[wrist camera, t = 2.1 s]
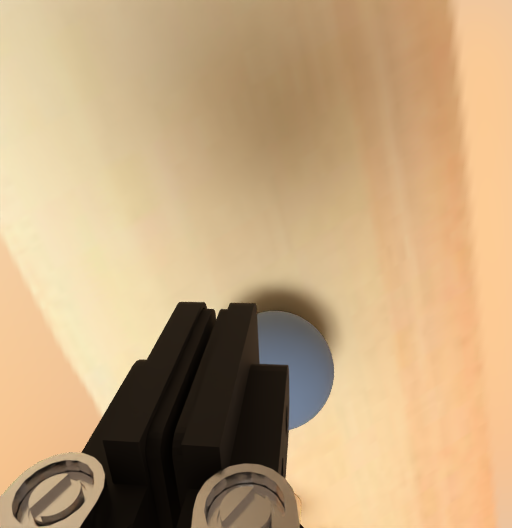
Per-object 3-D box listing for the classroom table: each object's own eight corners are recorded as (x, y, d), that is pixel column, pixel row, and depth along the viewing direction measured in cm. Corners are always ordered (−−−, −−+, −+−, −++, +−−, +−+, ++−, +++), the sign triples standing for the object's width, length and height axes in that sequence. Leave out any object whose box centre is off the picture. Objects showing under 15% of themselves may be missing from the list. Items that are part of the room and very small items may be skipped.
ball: (223, 289, 25) (198, 355, 20) (333, 290, 24) (338, 359, 19) (231, 375, 28) (210, 455, 22) (330, 379, 27) (334, 462, 21)
